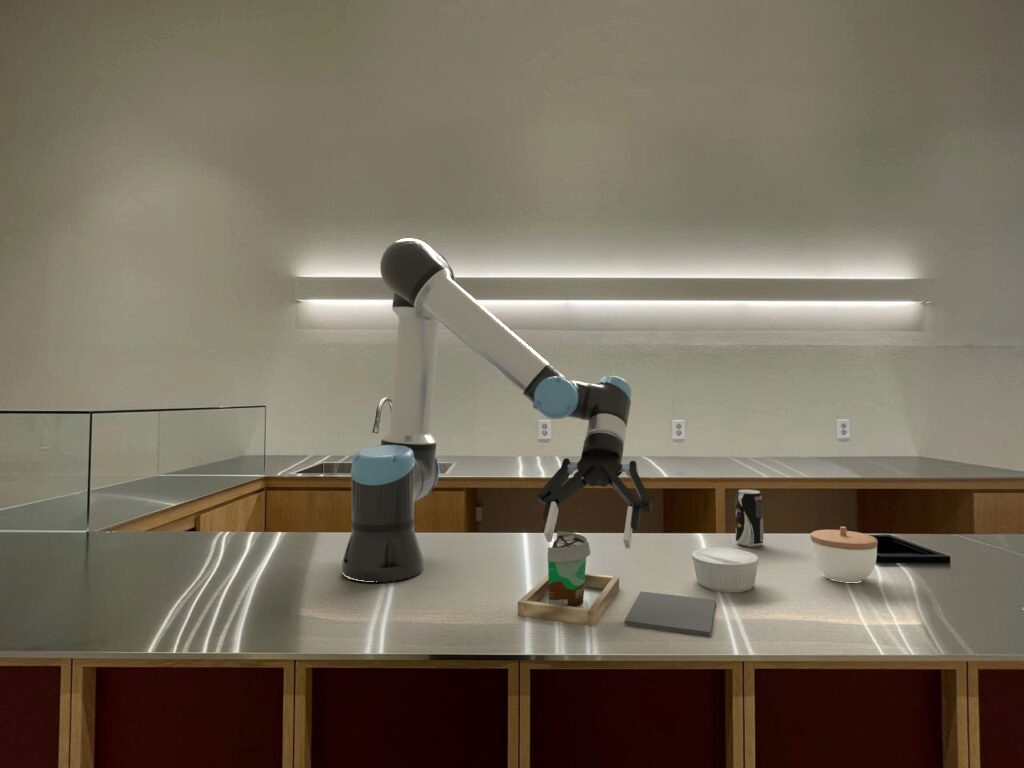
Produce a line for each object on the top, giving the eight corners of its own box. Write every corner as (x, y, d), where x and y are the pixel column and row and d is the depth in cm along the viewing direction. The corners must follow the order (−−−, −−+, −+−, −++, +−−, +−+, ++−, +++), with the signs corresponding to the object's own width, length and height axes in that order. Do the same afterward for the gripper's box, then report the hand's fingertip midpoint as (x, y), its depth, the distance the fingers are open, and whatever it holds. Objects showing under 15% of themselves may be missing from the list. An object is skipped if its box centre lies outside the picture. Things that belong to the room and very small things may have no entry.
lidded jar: (874, 574, 114) (873, 523, 114) (881, 591, 104) (881, 536, 104) (810, 567, 118) (809, 519, 118) (811, 583, 109) (811, 530, 109)
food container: (587, 616, 93) (587, 550, 93) (547, 613, 94) (547, 548, 94) (593, 590, 105) (593, 532, 105) (557, 588, 106) (557, 530, 107)
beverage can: (733, 541, 139) (732, 488, 139) (759, 542, 138) (759, 488, 138) (739, 547, 133) (738, 492, 133) (766, 548, 132) (766, 493, 132)
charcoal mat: (624, 624, 90) (624, 620, 90) (640, 594, 103) (640, 591, 103) (710, 636, 85) (710, 632, 85) (715, 603, 98) (715, 599, 98)
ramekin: (689, 591, 105) (689, 560, 105) (694, 572, 115) (693, 544, 115) (760, 598, 101) (760, 566, 101) (757, 578, 112) (757, 549, 112)
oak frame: (517, 615, 94) (517, 601, 94) (553, 580, 110) (553, 569, 110) (594, 625, 89) (594, 612, 89) (619, 588, 106) (619, 576, 106)
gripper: (672, 457, 115) (664, 559, 101) (546, 453, 124) (522, 546, 110) (669, 431, 110) (659, 534, 96) (537, 429, 119) (511, 523, 105)
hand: (586, 541), depth 103 cm, fingers open, 13 cm apart
